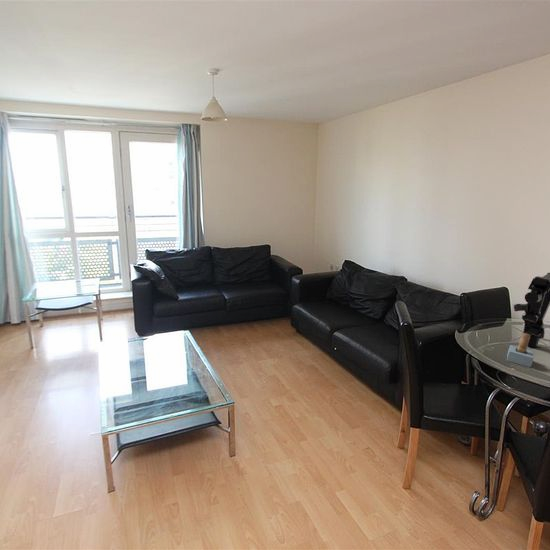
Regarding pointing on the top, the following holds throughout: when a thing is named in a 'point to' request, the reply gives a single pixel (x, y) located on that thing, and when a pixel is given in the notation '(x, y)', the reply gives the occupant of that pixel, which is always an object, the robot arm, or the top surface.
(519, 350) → the walnut peg
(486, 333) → the top surface
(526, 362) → the hole block
